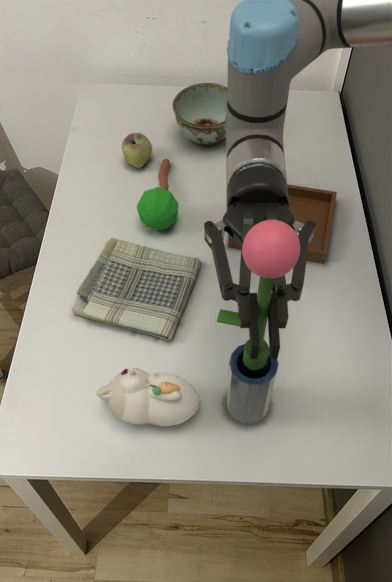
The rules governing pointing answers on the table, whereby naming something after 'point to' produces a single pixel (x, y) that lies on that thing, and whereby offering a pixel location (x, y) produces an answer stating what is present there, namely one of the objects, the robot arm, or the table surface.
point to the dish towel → (137, 288)
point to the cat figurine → (150, 397)
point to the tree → (158, 203)
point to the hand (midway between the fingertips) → (264, 352)
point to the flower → (265, 277)
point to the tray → (311, 217)
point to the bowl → (202, 112)
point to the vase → (249, 389)
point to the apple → (136, 149)
